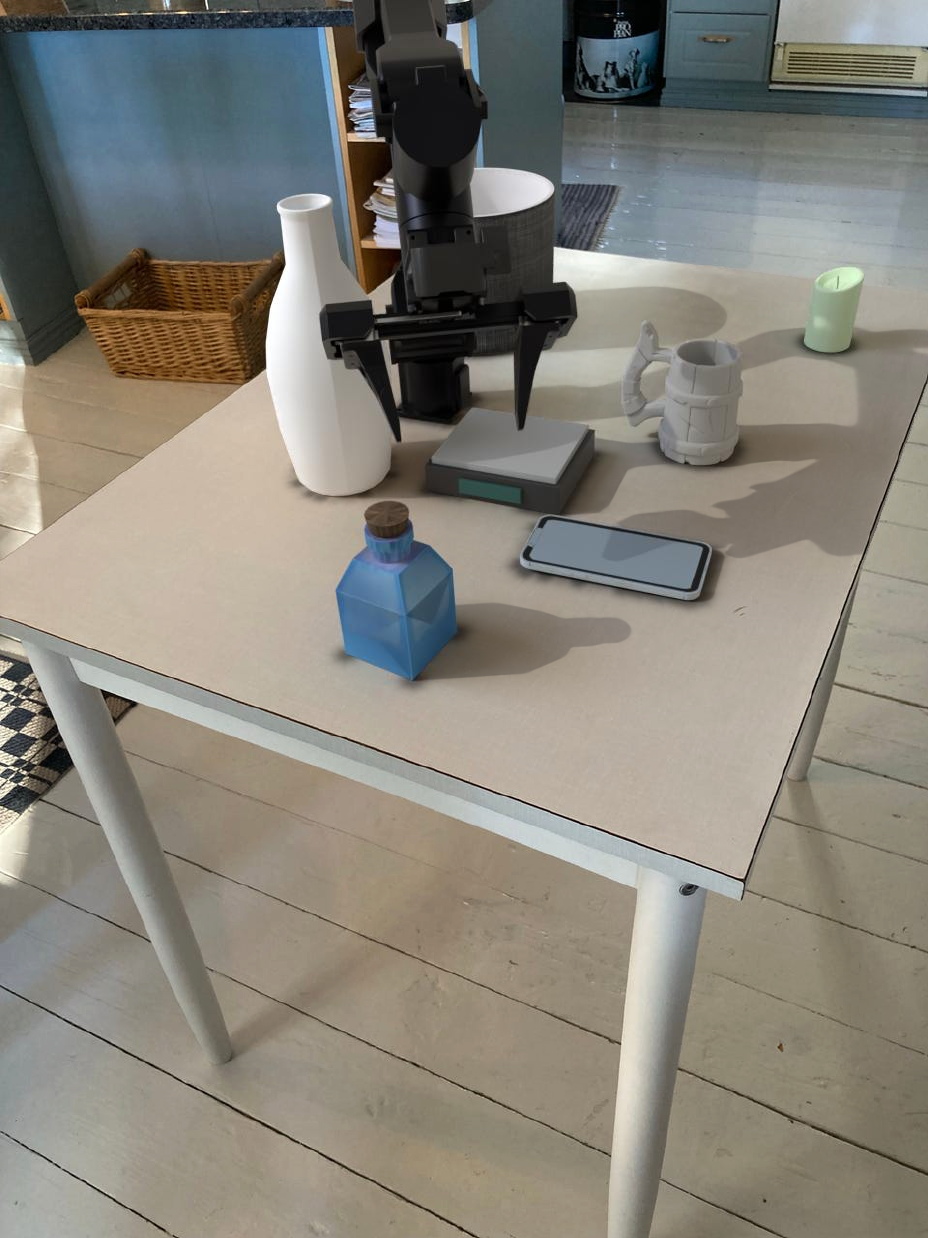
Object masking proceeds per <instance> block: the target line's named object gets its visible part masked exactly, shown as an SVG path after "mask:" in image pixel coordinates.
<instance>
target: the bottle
mask: <svg viewBox="0 0 928 1238" xmlns="http://www.w3.org/2000/svg"><path fill="white" fill-rule="evenodd" d="M333 208H334V200H333V198H332V197H331V196H329V195H326V194H321V193H302V194H295V195H291V196H287V197H285V198H282V199H281V200H280V201H278V202H277V204H276V210H277V212H278V214H279V215H280V216H279V217H280V224H281V232H282V241H283V242H282V243H283V250H284V259H285V260H284V261H285V266H284V269H283V271H282V274H281V277H280V280H279V282H278V284H277V288H276V291H275V293H274V296H273V299H272V302H271V305H270V308H269V315H268V323H267V330H266V339H265V363H266V377H267V381H268V385H269V390H270V395H271V398H272V402H273V407H274V411H275V414H276V419H277V423H278V427H279V430H280V433H281V436H282V439H283V441H284V444H285V447H286V450H287V452H288V453H287V454H288V455H289V458H290V461H291V464H292V466H293V470H294V473H295V474H296V477H297V479H298V482H300V483H301V484H302V485H303V486H304V487H306V488H307V489H308V490H309V491H311V492H313V493H316V494H318V495H323V496H330V497H344V496H345V497H346V496H352V495H356V494H357V495H358V494H361V493H364V492H366V491H368V490H371V489H373V488H375V487H376V486H377V485H379V484H380V483H381V482H382V481H383V480H384V479H385V477H386V476H387V474H388V473H389V471H390V469H391V461H392V443H393V442H392V441H393V434H392V432H391V429H390V427H389V425H388V423H387V421H386V418H385V416H384V414H383V412H382V409H381V407H380V405H379V403H378V401H377V399H376V397H375V395H374V393H373V392H372V390H371V388H370V387H369V385H368V384H367V382H366V380H365V379H364V377H363V376H362V374H361V372H360V371H359V370H358V369H346V368H345V365H344V361H343V360H330V359H327V356H326V353H325V350H324V346H323V343H322V338H321V329H320V320H319V313H320V312H321V310H322V309H323V307H324V306H325V304H332V303H343V302H353V301H364V300H370V297H369V296H368V294H367V293H366V292H365V290H364V289H363V287H362V286H361V285H360V283H359V282H358V281H357V279H356V277H355V276H354V275H353V274H352V271H350V269H349V268H348V266H347V265H346V264H345V262H344V261H343V259H342V258H341V253H340V247H339V241H338V237H337V231H336V226H335V225H336V224H335V221H334V215H333ZM375 314H376V311H375V308H373V315H375ZM381 344H382V349H383V354H384V358H385V363H386V367H387V371H388V375H389V379H390V384H391V388H392V374H391V373H392V371H391V357H390V352H389V348H388V344H387V340H382V341H381Z"/></svg>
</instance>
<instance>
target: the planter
mask: <svg viewBox="0 0 928 1238" xmlns="http://www.w3.org/2000/svg"><path fill="white" fill-rule="evenodd" d="M470 187H471V196H472V205H473V214H474V223H475V231H476V240H477V243H479V229H480V228H483V227H493V226H504V225H507V226H508V234H509V241H510V250H511V265H512V267H511V273H510V274H502V275H491V276H486V280H487V289H488V293H487V297H486V298H483V302H484V304H491V303H502V302H512V301H515V300H516V297H517V294H518V291H519V289H520V286H523V285H534V284H545V283H554V269H555V268H554V266H555V265H554V264H555V263H554V261H555V258H554V257H555V253H554V252H555V204H556V202H555V201H556V200H555V199H556V188H555V185H554V184H553V182H552V181H551V180H549V179H548V178H546V177H545V176H543V175H540V174H537V173H535V172H531V171H527V170H522V169H514V168H507V167H506V168H504V167H503V168H502V167H475V168H474V174H473V177H472V180H471V183H470ZM518 336H519V335H518V334H516V333H515V328H506V329H496V330H486V331H477V349H476V350H474V351H473V356H474V355H475V356H477V355H480V356H481V355H493V354H499V353H500V354H501V353H506V352H511V351H514V350H513V348H514V345H515V343H516V340H517V338H518Z"/></svg>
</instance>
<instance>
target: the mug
mask: <svg viewBox="0 0 928 1238" xmlns="http://www.w3.org/2000/svg"><path fill="white" fill-rule="evenodd" d="M659 343H660V341H659V333H658V331H657V329H656V328H655V326H654V324H653V323H652V322H651V321H650V320H649V319H647V318H645V319H643V321H642V322H641V324H640V334H639V337H638V341H637V342H636V344H635V348H634V349H633V352H632V354H631V356H630V358H629V360H628V363H627V365H626V368H625V371H624V374H623V376H622V378H621V385H620V386H621V402H620V403H621V408H622V411H623V414H624V415H626V416H627V420H628V423H629V426H631V427H633V428H636V427H638V426H640V425H641V424H642V423H644V421H646V420H649V419H653V418H662V419H660V421H659V424H658V429H657V436H658V439H659V441H660V442H659V447H660V449H661V452H662V453H664V455H665V457H667V458H669V459H670V460H673V461H674V462H676V463H679V464H685V463H688V464H690V465H691V466H710V465H715V464H718V463H720V462H724V461H726V460H727V459H729V458H730V457H731V455H732V454H733V453H734V449H735V446H737V443H738V442H739V438H740V427H739V425H738V410H739V402H740V401H739V399H740V398H741V397H742V396H743V393H744V391H743V390H744V382H743V380H742V378H741V377H742V368H743V357H744V356H743V355H744V354H743V351H742V349H741V348H740V347H738V346H737V345H735V344H734V343H731V342H729V341H726V340H723V339H716V338H708V337H707V338H693V339H687V340H686V341H682V342H679V343H678V344H676V345H675V346H674V347H673V349H672V348H668V347H660V345H659ZM652 362H661V363H666V364H669V372H668V374H667V375H666V377H665V383H664V391H665V393H666V395H665V398H660V399H654V400H651V401H648V398H646V397H645V395H644V393H643V391H642V390H641V382H642V374H643V372H644V371H646V370H647V368H648V367H649V366H650V365H651V364H652Z"/></svg>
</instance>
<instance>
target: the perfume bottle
mask: <svg viewBox="0 0 928 1238" xmlns="http://www.w3.org/2000/svg"><path fill="white" fill-rule="evenodd" d="M363 516H364V520H365V525H364V527H363V533H364V540H365V541H364V542H365V544H366V546H365V547H363V549H361V550H360V551H359V552H358V553H357V554H356V555H355V556H354V557H353V558H351V560H350V562H349V564H348V566H347V568H346V569H345V571H344V573H343V575H342V577H341V579H340V580H339V582H338V584H337V586H336V587H335V589H334V592H335V597H336V602H337V609H338V615H339V622H340V627H341V633H342V639H343V646H344V651H345V654H346V655H349V656H351V657H353V658H356V659H359V660H361V661H363V662H366V663H368V664H370V665H373V666H375V667H378V668H380V669H383V670H386V671H388V672H391V673H393V674H395V675H398V676H400V677H403V678H406V679H407V680H410V681H413V680H415V679H416V678H417V676H418V675H419V674H420V673H421V672H422V671H423V670H424V669H425V668H426V667H427V666H428V665H429V664H430V663H431V662H432V660H433V659H434V658H435V657H436V656H437V655H438V654H439V653H440V652H442V649H443V648H444V647H445V646H446V645H447V644H448V643H449V642H450V641H451V640H453V638H454V637H455V636H456V635H457V634H458V624H457V611H456V610H457V609H456V596H455V595H456V594H455V580H454V569H453V567H451V565H450V564H449V563H448V562H447V561H446V560H444V558H443V557H442V556H441V555H440V554H439V553H438V552H437V551H436V550H435V549H434V548H433V547H432V546H431V544H427V543H424V542H421V541H418V540H415V533H414V525H413V522H412V520H411V519H410V518H409V517H410V508H409V507H408V506H407V505H406V504H405V503H403V502H400V501H397V500H384V501H378V502H376V503H373V504H371V505H370V506H368V507H367V508H366V509H365V510H364V514H363Z"/></svg>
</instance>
